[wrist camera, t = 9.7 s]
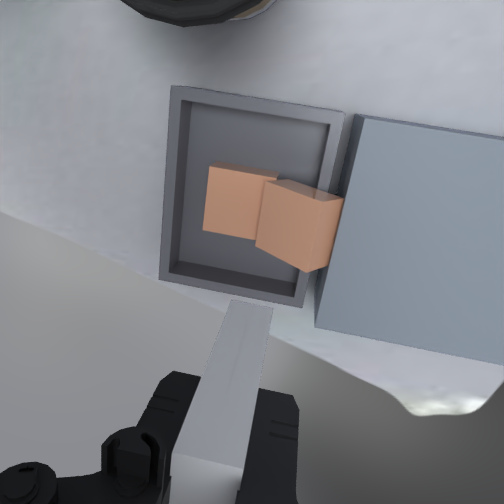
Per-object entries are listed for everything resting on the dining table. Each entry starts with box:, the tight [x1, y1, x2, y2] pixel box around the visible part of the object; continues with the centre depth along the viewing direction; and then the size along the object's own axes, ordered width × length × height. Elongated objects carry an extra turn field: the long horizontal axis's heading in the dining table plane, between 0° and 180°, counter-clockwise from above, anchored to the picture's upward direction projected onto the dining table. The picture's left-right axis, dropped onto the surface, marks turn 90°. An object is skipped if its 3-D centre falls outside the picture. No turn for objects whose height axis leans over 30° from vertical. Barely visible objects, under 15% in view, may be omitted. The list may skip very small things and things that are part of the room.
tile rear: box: [203, 161, 279, 240], centre depth 32 cm, size 5×5×2 cm
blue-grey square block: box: [314, 114, 504, 366], centre depth 30 cm, size 14×15×6 cm
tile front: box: [255, 179, 344, 273], centre depth 29 cm, size 5×5×2 cm
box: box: [159, 85, 345, 308], centre depth 32 cm, size 12×15×4 cm
